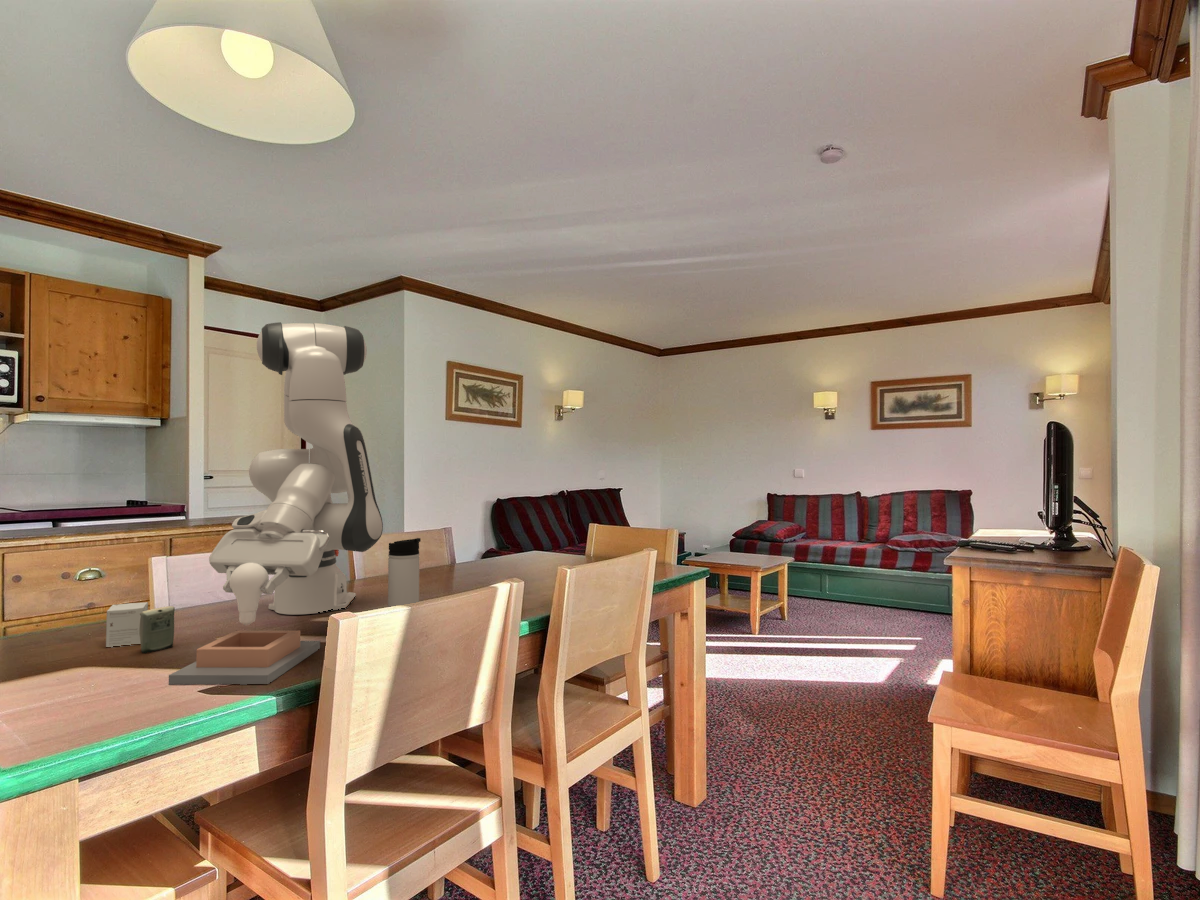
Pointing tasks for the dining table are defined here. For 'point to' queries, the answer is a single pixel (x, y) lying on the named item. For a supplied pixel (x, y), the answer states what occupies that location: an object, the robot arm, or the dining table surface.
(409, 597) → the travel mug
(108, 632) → the product box
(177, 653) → the dining table surface
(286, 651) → the board
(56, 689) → the dining table surface
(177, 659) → the dining table surface
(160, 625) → the labelled grey plug block
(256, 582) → the lightbulb
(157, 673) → the dining table surface
